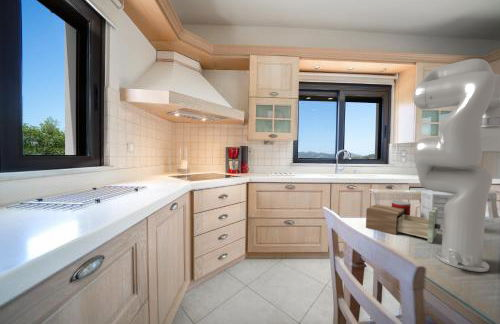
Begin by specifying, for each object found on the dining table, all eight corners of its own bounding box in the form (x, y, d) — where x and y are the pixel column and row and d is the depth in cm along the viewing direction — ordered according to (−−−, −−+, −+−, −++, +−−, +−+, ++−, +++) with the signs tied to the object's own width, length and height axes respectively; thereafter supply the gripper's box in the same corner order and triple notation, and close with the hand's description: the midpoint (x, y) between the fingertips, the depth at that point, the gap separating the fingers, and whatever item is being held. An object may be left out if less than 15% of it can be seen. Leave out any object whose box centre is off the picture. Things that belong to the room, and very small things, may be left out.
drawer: (437, 244, 84) (439, 214, 83) (395, 233, 94) (397, 207, 93) (441, 235, 93) (442, 208, 93) (403, 226, 103) (404, 202, 102)
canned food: (403, 221, 112) (404, 200, 112) (413, 226, 104) (414, 204, 104) (387, 220, 113) (388, 200, 112) (396, 226, 105) (397, 203, 105)
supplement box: (454, 231, 98) (456, 195, 98) (430, 230, 100) (432, 194, 100) (440, 225, 108) (442, 191, 107) (419, 223, 110) (421, 190, 109)
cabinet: (395, 234, 93) (396, 214, 93) (365, 227, 102) (366, 208, 102) (403, 227, 103) (404, 208, 103) (375, 221, 112) (376, 204, 111)
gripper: (458, 124, 89) (456, 166, 90) (526, 120, 77) (522, 168, 77) (459, 126, 94) (457, 165, 95) (523, 123, 82) (519, 168, 83)
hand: (486, 167), depth 86 cm, fingers open, 9 cm apart
